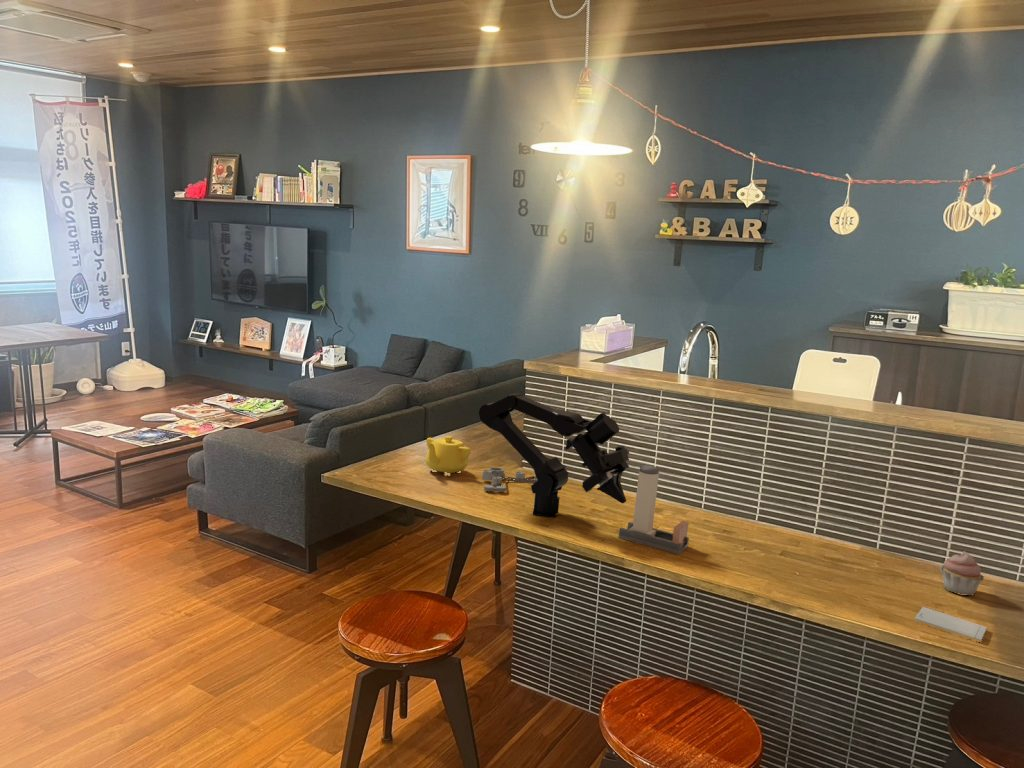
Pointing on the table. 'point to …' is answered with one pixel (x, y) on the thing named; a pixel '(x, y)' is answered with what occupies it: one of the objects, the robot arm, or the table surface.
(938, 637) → the table surface
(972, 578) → the cupcake
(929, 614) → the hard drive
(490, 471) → the pulley system
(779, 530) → the table surface
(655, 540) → the rail
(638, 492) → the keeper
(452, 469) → the teapot
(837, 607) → the table surface
